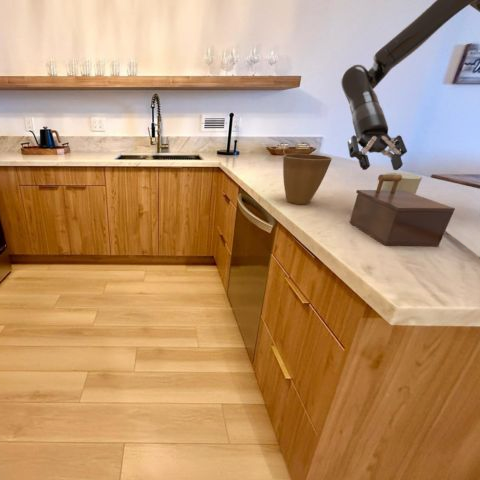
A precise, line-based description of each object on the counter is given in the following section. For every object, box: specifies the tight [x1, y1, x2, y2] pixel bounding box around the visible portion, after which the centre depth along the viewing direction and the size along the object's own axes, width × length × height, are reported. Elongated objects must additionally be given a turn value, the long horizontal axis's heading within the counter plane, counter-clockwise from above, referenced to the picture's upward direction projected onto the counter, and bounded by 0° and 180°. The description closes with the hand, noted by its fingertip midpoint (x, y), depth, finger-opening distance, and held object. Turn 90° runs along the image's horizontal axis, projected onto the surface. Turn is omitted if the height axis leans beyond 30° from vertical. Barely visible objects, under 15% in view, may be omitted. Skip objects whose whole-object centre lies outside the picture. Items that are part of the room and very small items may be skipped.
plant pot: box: [282, 153, 333, 205], centre depth 100 cm, size 15×15×16 cm
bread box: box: [349, 193, 454, 247], centre depth 75 cm, size 16×13×9 cm
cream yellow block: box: [381, 172, 423, 195], centre depth 91 cm, size 9×9×12 cm
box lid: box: [356, 174, 456, 213], centre depth 72 cm, size 16×13×6 cm
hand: (382, 168), depth 80 cm, fingers open, 8 cm apart
